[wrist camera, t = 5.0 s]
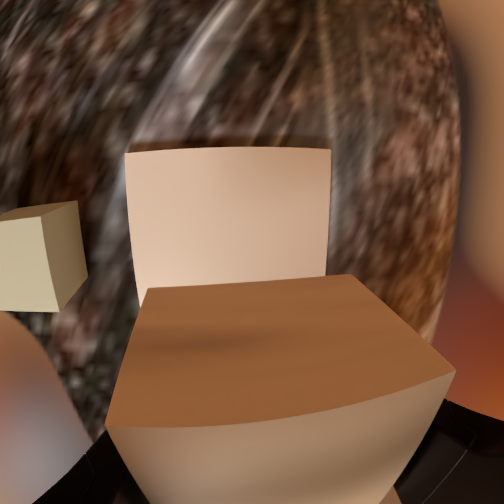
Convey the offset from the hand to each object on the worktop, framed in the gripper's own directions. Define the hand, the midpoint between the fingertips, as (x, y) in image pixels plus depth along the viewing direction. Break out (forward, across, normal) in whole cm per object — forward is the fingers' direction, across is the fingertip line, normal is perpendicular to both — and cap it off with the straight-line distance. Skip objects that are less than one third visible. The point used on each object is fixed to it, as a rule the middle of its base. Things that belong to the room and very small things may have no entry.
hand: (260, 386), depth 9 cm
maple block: (+1, 0, 0) cm, 1 cm away
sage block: (+11, +12, -2) cm, 16 cm away
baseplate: (+11, 0, 0) cm, 11 cm away
